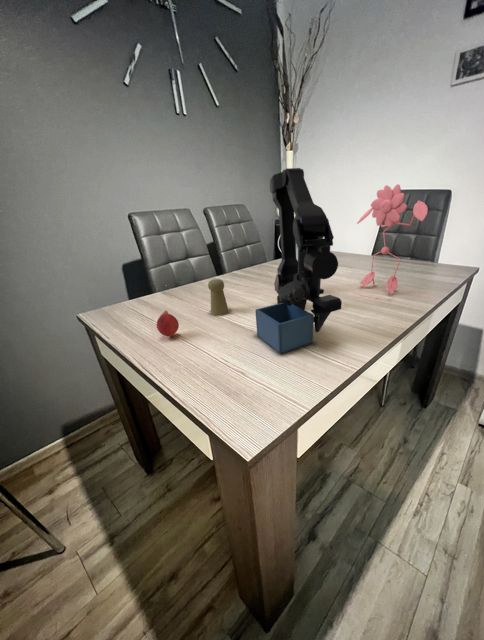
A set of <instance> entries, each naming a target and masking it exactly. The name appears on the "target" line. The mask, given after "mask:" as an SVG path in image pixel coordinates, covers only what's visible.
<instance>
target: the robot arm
mask: <svg viewBox="0 0 484 640" xmlns="http://www.w3.org/2000/svg"><path fill="white" fill-rule="evenodd" d="M269 191H270V194H271V196H272V201H273V203H274V205H275V206H276V208H277V209H278V219H279V220H278V221H279V236H280V252H281V253H280V255H281V261H280V263H279V264H278V267H277V270H276V271H277V274H276V275H275V279H274V283H273V285H274V291H275V292H276V294H277V296H276V299H277V300H276V304H279V303H285V304H287V305H288V306H291V305H295V306H297V307H299V308H301V309H303V310H305V311H306V306H307V303H308V302H311V305H312V306H311V307H312V309H310V310H309V312H310V313H311V314H313V315H314V322H315V323H314V322H313V323H314V332H315V333H319V332H320V331H321V329H322V328H323V325H324V324H325V322H326V321H327V319H328V318H329V316H330V315H331V313H333V312H336V311H340V310H342V304H343V301H342V299H341V298H340V297H338V296H335V295H332V294H327V295H324V293H325V290H324V288H321V284H322V283H321V282H322V280H328V279H330V278H332V277H333V276H334V275H335V274H336V272H337V271H338V269H339V261H338V257H337V255H335V253H333V252H331V246H332V247H333V246H334V234H333V230H332V228H331V225H330V220H329V218H328V217H327V214H326V213H325V212H324V209H323V208H322V207H321V206H319V205H317V204H316V203H314V201H313V198H312V196H311V192H310V190H309V188H308V184H307V182H306V180H305V171H304V169H303V168H301V167H290V168H289V167H288V168H285V169H283V170H282V171H280V172H279V173H278V172H277V173H274V174H273V175H272V176H271V178H270V179H269ZM296 243H297V247H298V261H297V259H296ZM320 295H321V296H320ZM322 295H323V296H322ZM307 301H308V302H307Z"/></svg>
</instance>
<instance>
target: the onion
mask: <svg viewBox="0 0 484 640" xmlns="http://www.w3.org/2000/svg"><path fill="white" fill-rule="evenodd" d="M179 324H180V323H179V320H178V319H177V318H176V317H175V316H174V315H173V314H171V313H169V311H168V310H163V312H162V313H161V314H160V315H159V317H158V318H157V321H156V328H157V331H158V332H159V333H160V334H161V335H162V336H165V337H169V338H172V337H173V336H174V335H175V334H176V333H177V332H178V330H179V328H180V325H179Z"/></svg>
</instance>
